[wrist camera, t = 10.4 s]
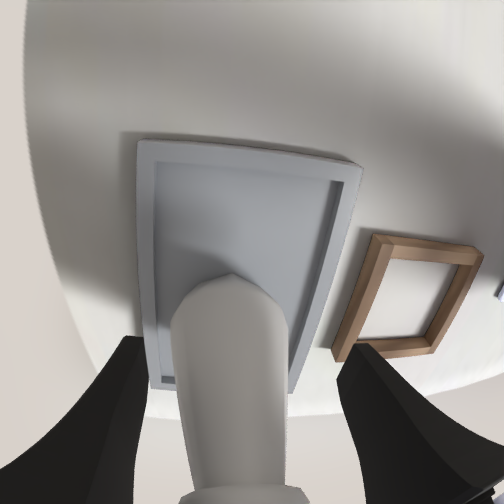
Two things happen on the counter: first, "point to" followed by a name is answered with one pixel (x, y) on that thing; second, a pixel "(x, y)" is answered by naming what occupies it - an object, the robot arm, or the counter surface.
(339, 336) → the walnut collar
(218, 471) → the salt shaker
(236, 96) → the counter surface
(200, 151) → the grey tray
